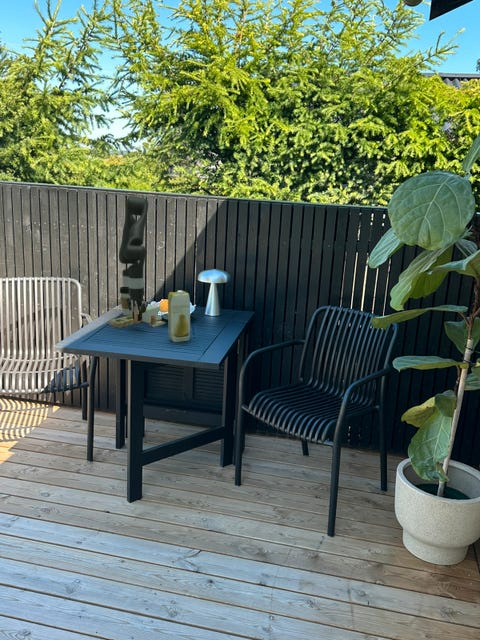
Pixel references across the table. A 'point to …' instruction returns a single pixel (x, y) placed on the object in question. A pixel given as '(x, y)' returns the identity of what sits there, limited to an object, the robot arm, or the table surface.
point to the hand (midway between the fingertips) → (137, 319)
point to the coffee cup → (124, 296)
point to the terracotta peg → (136, 315)
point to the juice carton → (179, 316)
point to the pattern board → (153, 321)
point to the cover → (151, 313)
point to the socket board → (122, 322)
